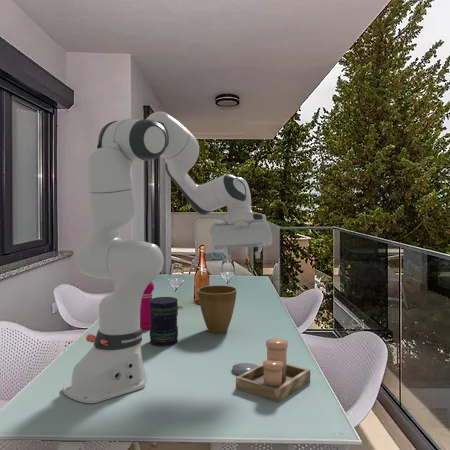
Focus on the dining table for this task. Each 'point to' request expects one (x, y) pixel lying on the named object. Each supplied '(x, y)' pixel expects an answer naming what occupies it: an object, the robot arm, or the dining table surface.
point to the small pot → (273, 373)
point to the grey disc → (242, 368)
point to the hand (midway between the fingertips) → (243, 258)
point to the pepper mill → (146, 307)
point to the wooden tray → (255, 385)
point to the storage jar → (163, 321)
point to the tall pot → (278, 352)
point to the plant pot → (217, 306)
